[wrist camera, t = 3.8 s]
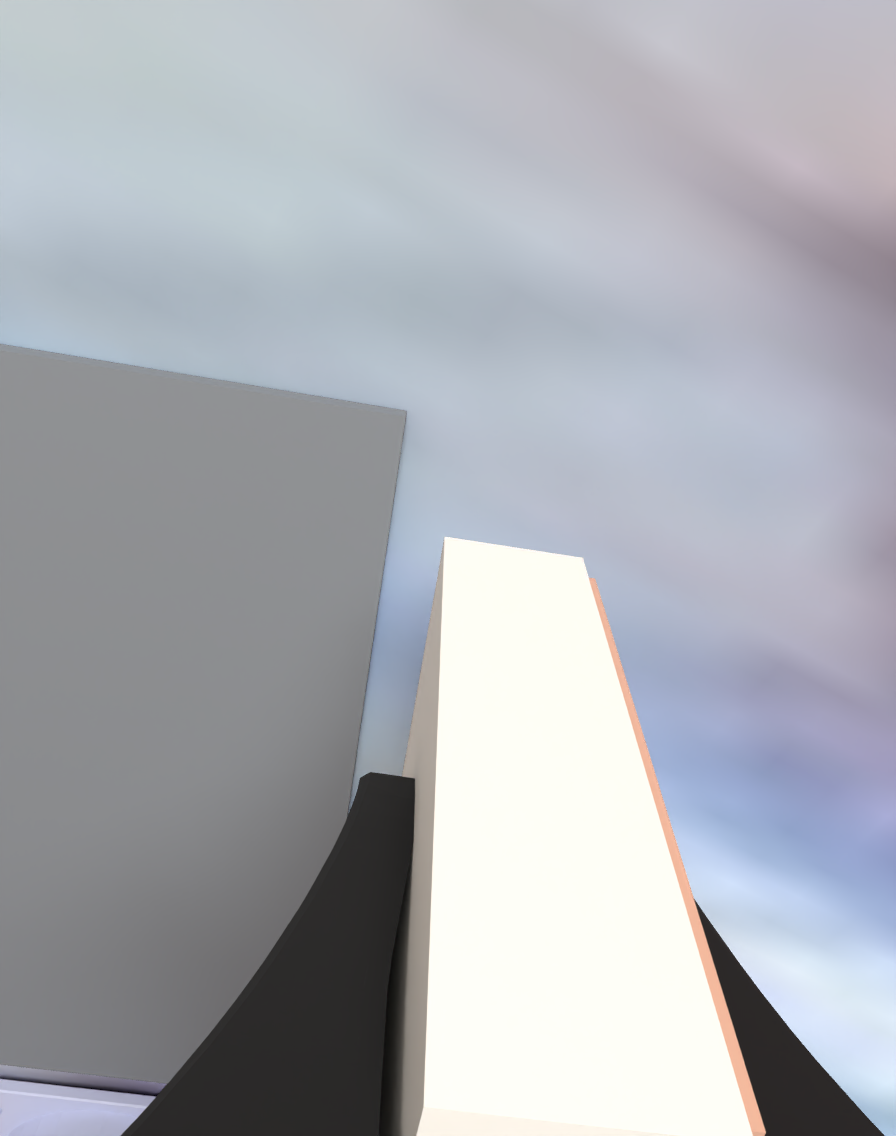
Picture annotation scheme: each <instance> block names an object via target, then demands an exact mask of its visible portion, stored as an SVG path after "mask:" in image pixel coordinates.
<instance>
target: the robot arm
mask: <svg viewBox="0 0 896 1136" xmlns="http://www.w3.org/2000/svg"><path fill="white" fill-rule="evenodd" d="M414 815H415V778H409V777H401V776H394V775H387V774H380V773H372V772H370V773H368V774H366V775H365V776H363V777H361V778H360V781H359V785H358V790H357V793H356V796H355V799H354V802H353V805H352V807H351V810H350V812H349V815H348V817H347V819H346V822H345V824H344V826H343V828H342V830H341V833H340V835H339V837H338V839H337V841H336V843H335V845H334V847H333V849H332V851H331V853H330V855H329V856H328V858H327V860H326V862H325V864H324V865H323V867H322V869H321V871H320V872H319V874H318V876H317V878H316V880H315V881H314V883H313V885H312V887H311V889H310V890H309V892H308V894H307V896H306V897H305V899H304V901H303V902H302V904H301V905H300V907H299V909H298V910H297V912H296V913H295V915H294V916H293V918H292V919H291V921H290V922H289V924H288V925H287V927H286V929H285V930H284V932H283V933H282V935H281V936H280V938H279V939H278V941H277V942H276V944H275V945H274V947H273V948H272V950H271V951H270V953H269V955H268V956H267V957H266V959H265V960H264V962H263V963H262V965H261V966H260V967H259V969H258V970H257V972H256V973H255V974H254V976H253V977H252V979H251V980H250V981H249V983H248V984H247V985H246V987H245V988H244V990H243V991H242V992H241V994H240V995H239V996H238V998H237V999H236V1000H235V1002H234V1003H233V1004H232V1005H231V1007H230V1008H229V1009H228V1011H227V1012H226V1013H225V1015H224V1016H223V1017H222V1018H221V1020H220V1021H219V1022H218V1024H217V1025H216V1026H215V1027H214V1029H213V1030H212V1031H211V1032H210V1034H209V1035H208V1036H207V1037H206V1039H205V1040H204V1041H203V1042H202V1043H201V1045H200V1046H199V1047H198V1048H197V1049H196V1051H195V1052H194V1053H193V1054H192V1055H191V1057H190V1058H189V1059H188V1060H187V1061H186V1062H185V1064H184V1065H183V1066H182V1067H181V1068H180V1070H179V1071H178V1072H177V1073H176V1074H175V1076H174V1077H173V1078H172V1079H171V1080H170V1082H169V1083H168V1084H167V1085H166V1086H165V1087H164V1089H163V1090H162V1091H161V1092H160V1093H159V1094H158V1095H157V1096H148V1095H139V1094H130V1093H122V1092H113V1091H104V1090H95V1089H86V1088H78V1087H69V1086H60V1085H51V1084H42V1083H33V1082H25V1081H16V1080H7V1079H0V1136H379V1121H380V1103H381V1085H382V1068H383V1052H384V1037H385V1021H386V1005H387V991H388V983H389V975H390V968H391V960H392V954H393V948H394V943H395V938H396V932H397V927H398V922H399V916H400V911H401V906H402V901H403V895H404V890H405V885H406V879H407V874H408V869H409V863H410V858H411V853H412V847H413V842H414ZM694 901H695V899H694ZM695 904H696V908H697V911H698V914H699V917H700V921H701V924H702V927H703V930H704V933H705V937H706V940H707V943H708V946H709V950H710V953H711V956H712V959H713V963H714V966H715V969H716V972H717V976H718V979H719V982H720V985H721V989H722V992H723V995H724V998H725V1002H726V1005H727V1008H728V1011H729V1014H730V1018H731V1021H732V1024H733V1027H734V1031H735V1034H736V1037H737V1040H738V1044H739V1047H740V1050H741V1053H742V1057H743V1060H744V1063H745V1066H746V1070H747V1073H748V1076H749V1079H750V1082H751V1086H752V1089H753V1092H754V1095H755V1099H756V1102H757V1105H758V1108H759V1112H760V1115H761V1118H762V1121H763V1125H764V1128H765V1131H766V1134H765V1136H884V1134H883V1133H882V1132H881V1131H880V1130H879V1129H878V1128H877V1127H876V1126H875V1125H874V1124H873V1123H872V1122H871V1121H870V1120H869V1119H868V1118H867V1116H866V1115H865V1114H864V1113H863V1112H862V1111H861V1110H860V1109H859V1108H858V1107H857V1105H856V1104H855V1103H854V1102H853V1101H852V1100H851V1099H850V1098H849V1096H848V1095H847V1094H846V1093H845V1092H844V1091H843V1090H842V1089H841V1087H840V1086H839V1085H838V1084H837V1083H836V1082H835V1081H834V1080H833V1079H832V1077H831V1076H830V1075H829V1074H828V1073H827V1072H826V1071H825V1070H824V1068H823V1067H822V1066H821V1065H820V1064H819V1063H818V1062H817V1061H816V1059H815V1058H814V1057H813V1056H812V1055H811V1053H810V1052H809V1051H808V1050H807V1049H806V1048H805V1046H804V1045H803V1044H802V1043H801V1042H800V1040H799V1039H798V1038H797V1037H796V1036H795V1034H794V1033H793V1032H792V1031H791V1030H790V1028H789V1027H788V1026H787V1024H786V1023H785V1022H784V1021H783V1019H782V1018H781V1017H780V1016H779V1014H778V1013H777V1012H776V1011H775V1009H774V1008H773V1007H772V1005H771V1004H770V1003H769V1002H768V1000H767V999H766V998H765V997H764V995H763V994H762V993H761V992H760V990H759V989H758V988H757V986H756V985H755V984H754V982H753V981H752V979H751V978H750V977H749V975H748V974H747V973H746V971H745V970H744V969H743V967H742V966H741V965H740V963H739V962H738V961H737V959H736V958H735V956H734V955H733V954H732V952H731V951H730V949H729V948H728V947H727V945H726V944H725V942H724V941H723V939H722V938H721V937H720V935H719V934H718V932H717V931H716V930H715V928H714V927H713V925H712V924H711V923H710V921H709V920H708V918H707V917H706V915H705V914H704V913H703V911H702V910H701V908H700V907H699V905H698V904H697V902H696V901H695Z"/></svg>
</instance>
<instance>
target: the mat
mask: <svg viewBox="0 0 896 1136" xmlns="http://www.w3.org/2000/svg"><path fill="white" fill-rule="evenodd" d="M406 413H407V411H405V410H399V409H393V408H386V407H380V406H374V405H368V404H362V403H356V402H350V401H344V400H338V399H332V398H326V397H320V396H314V395H307V394H301V393H295V392H289V391H283V390H277V389H271V388H265V387H259V386H253V385H247V384H241V383H235V382H229V381H222V380H216V379H210V378H204V377H198V376H192V375H186V374H180V373H174V372H168V371H162V370H156V369H150V368H144V367H137V366H131V365H125V364H119V363H113V362H107V361H101V360H95V359H89V358H83V357H77V356H71V355H65V354H59V353H52V352H46V351H40V350H34V349H28V348H22V347H16V346H10V345H4V344H0V1065H8V1066H17V1067H26V1068H35V1069H43V1070H52V1071H61V1072H70V1073H78V1074H87V1075H96V1076H104V1077H113V1078H122V1079H131V1080H139V1081H148V1082H157V1083H166V1084H168V1083H169V1082H170V1080H171V1079H172V1078H173V1077H174V1076H175V1074H176V1073H177V1072H178V1071H179V1070H180V1068H181V1067H182V1066H183V1065H184V1064H185V1062H186V1061H187V1060H188V1059H189V1058H190V1057H191V1055H192V1054H193V1053H194V1052H195V1051H196V1049H197V1048H198V1047H199V1046H200V1045H201V1043H202V1042H203V1041H204V1040H205V1039H206V1037H207V1036H208V1035H209V1034H210V1032H211V1031H212V1030H213V1029H214V1027H215V1026H216V1025H217V1024H218V1022H219V1021H220V1020H221V1018H222V1017H223V1016H224V1015H225V1013H226V1012H227V1011H228V1009H229V1008H230V1007H231V1005H232V1004H233V1003H234V1002H235V1000H236V999H237V998H238V996H239V995H240V994H241V992H242V991H243V990H244V988H245V987H246V985H247V984H248V983H249V981H250V980H251V979H252V977H253V976H254V974H255V973H256V972H257V970H258V969H259V967H260V966H261V965H262V963H263V962H264V960H265V959H266V957H267V956H268V955H269V953H270V951H271V950H272V948H273V947H274V945H275V944H276V942H277V941H278V939H279V938H280V936H281V935H282V933H283V932H284V930H285V929H286V927H287V925H288V924H289V922H290V921H291V919H292V918H293V916H294V915H295V913H296V912H297V910H298V909H299V907H300V905H301V904H302V902H303V901H304V899H305V897H306V896H307V894H308V892H309V890H310V889H311V887H312V885H313V883H314V881H315V880H316V878H317V876H318V874H319V872H320V871H321V869H322V867H323V865H324V864H325V862H326V860H327V858H328V856H329V855H330V853H331V851H332V849H333V847H334V845H335V843H336V841H337V839H338V837H339V835H340V833H341V830H342V828H343V826H344V824H345V822H346V819H347V814H348V807H349V801H350V794H351V787H352V780H353V774H354V767H355V760H356V753H357V746H358V740H359V733H360V726H361V719H362V712H363V706H364V699H365V692H366V685H367V678H368V672H369V665H370V658H371V651H372V644H373V638H374V631H375V624H376V617H377V610H378V604H379V597H380V590H381V583H382V576H383V570H384V563H385V556H386V549H387V542H388V536H389V529H390V522H391V515H392V508H393V502H394V495H395V488H396V481H397V474H398V468H399V461H400V454H401V447H402V440H403V434H404V427H405V420H406Z"/></svg>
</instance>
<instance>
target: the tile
mask: <svg viewBox="0 0 896 1136" xmlns="http://www.w3.org/2000/svg"><path fill="white" fill-rule="evenodd" d="M402 777H409V778H415V815H414V842H413V847H412V853H411V858H410V863H409V869H408V874H407V879H406V885H405V890H404V895H403V901H402V906H401V911H400V916H399V922H398V927H397V932H396V938H395V943H394V948H393V954H392V960H391V968H390V975H389V983H388V991H387V1005H386V1021H385V1037H384V1052H383V1068H382V1085H381V1103H380V1121H379V1136H765V1134H766V1131H765V1128H764V1125H763V1121H762V1118H761V1115H760V1112H759V1108H758V1105H757V1102H756V1099H755V1095H754V1092H753V1089H752V1086H751V1082H750V1079H749V1076H748V1073H747V1070H746V1066H745V1063H744V1060H743V1057H742V1053H741V1050H740V1047H739V1044H738V1040H737V1037H736V1034H735V1031H734V1027H733V1024H732V1021H731V1018H730V1014H729V1011H728V1008H727V1005H726V1002H725V998H724V995H723V992H722V989H721V985H720V982H719V979H718V976H717V972H716V969H715V966H714V963H713V959H712V956H711V953H710V950H709V946H708V943H707V940H706V937H705V933H704V930H703V927H702V924H701V921H700V917H699V914H698V911H697V908H696V904H695V901H694V898H693V895H692V891H691V888H690V885H689V882H688V878H687V875H686V872H685V869H684V865H683V862H682V859H681V856H680V852H679V849H678V846H677V843H676V840H675V836H674V833H673V830H672V827H671V823H670V820H669V817H668V814H667V810H666V807H665V804H664V801H663V797H662V794H661V791H660V788H659V784H658V781H657V778H656V775H655V772H654V768H653V765H652V762H651V759H650V755H649V752H648V749H647V746H646V742H645V739H644V736H643V733H642V729H641V726H640V723H639V720H638V716H637V713H636V710H635V707H634V703H633V700H632V697H631V694H630V691H629V687H628V684H627V681H626V678H625V674H624V671H623V668H622V665H621V661H620V658H619V655H618V652H617V648H616V645H615V642H614V639H613V635H612V632H611V629H610V626H609V623H608V619H607V616H606V613H605V610H604V606H603V603H602V600H601V597H600V593H599V590H598V587H597V584H596V580H595V579H594V578H588V574H587V571H586V568H585V564H584V561H583V558H580V557H573V556H567V555H560V554H554V553H547V552H541V551H534V550H528V549H521V548H515V547H508V546H502V545H495V544H489V543H482V542H476V541H469V540H463V539H456V538H450V537H445V538H444V543H443V549H442V554H441V560H440V566H439V571H438V577H437V582H436V588H435V594H434V599H433V605H432V611H431V616H430V622H429V627H428V633H427V639H426V644H425V650H424V655H423V661H422V667H421V672H420V678H419V683H418V689H417V695H416V700H415V706H414V712H413V717H412V723H411V728H410V734H409V740H408V745H407V751H406V756H405V762H404V768H403V773H402Z"/></svg>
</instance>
